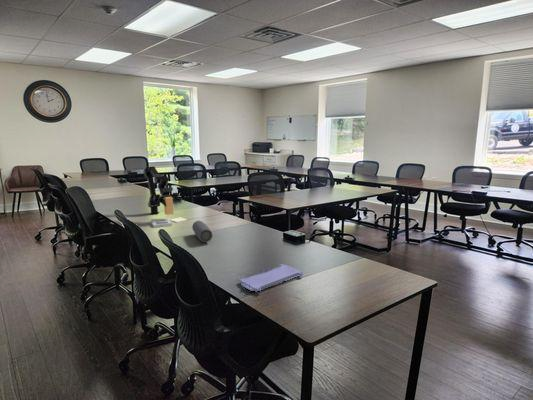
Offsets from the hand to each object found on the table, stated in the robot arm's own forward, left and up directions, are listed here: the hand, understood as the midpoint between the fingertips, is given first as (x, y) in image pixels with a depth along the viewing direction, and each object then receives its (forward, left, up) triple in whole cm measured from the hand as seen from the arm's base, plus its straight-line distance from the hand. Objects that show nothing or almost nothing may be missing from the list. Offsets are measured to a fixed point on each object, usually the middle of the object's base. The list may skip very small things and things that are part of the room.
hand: (169, 205), depth 254 cm
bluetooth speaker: (+39, +34, -13) cm, 53 cm away
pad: (-6, +4, -13) cm, 15 cm away
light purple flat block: (+99, +81, -14) cm, 129 cm away
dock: (+5, -5, -13) cm, 15 cm away
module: (-1, -1, -7) cm, 7 cm away
